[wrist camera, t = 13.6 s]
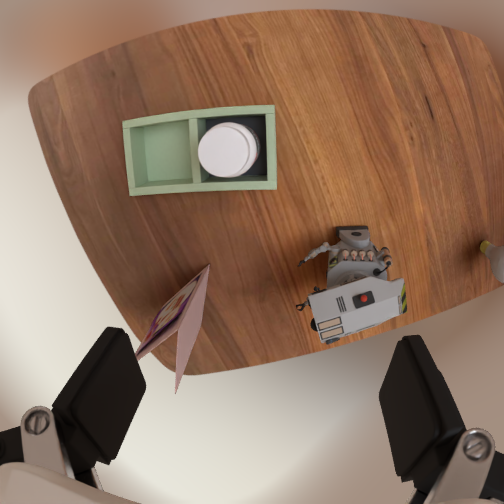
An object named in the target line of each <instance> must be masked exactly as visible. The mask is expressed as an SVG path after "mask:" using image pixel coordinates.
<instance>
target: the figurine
mask: <svg viewBox="0 0 504 504" xmlns="http://www.w3.org/2000/svg"><path fill="white" fill-rule="evenodd" d="M336 236H337V237H338V238H340V239H341V240H340V241H339V242H338V243H337V244H336V245H333V246H329V244H328V243H327V242H324V243H323V244H322V246H320V247H318V248H317V249H315V248H314V249H312V250H311V251H310V252H309V253H308V256H307V257H305V258H304V260H303V261H300V263H299V265H298V266H301V264H302V263H305V262H306V261H307V260H308V259H310V258H314V257H316V256H317V254H318V253H320V252H326V251H327V250H329V257H328V271H326V277H327V288H326V289H323V290H320V289H319V288H317V287H316V286H315V287H314V291H317V289H318V291H317V292H313V293H310V294H308V297H307V298H306V299H307V301H305V302H304V303H303V304H299V305H296V307H298V306H302V308H301V309H297V310H299V311H302V310H303V308H304V307H305V306H306V305H308V304H309V306H310V307H311V309H312V312H313V315H314V318H313V319H312V321H311V328H312V329H313V330H314V331H317V332H318V333H319V337H320V340H321V343H324V342H326V344H330V343H333V342H335V341H338V340H339V339H340V338H341V337H344V336H347V335H350V334H353V333H356V332H359V331H362V330H365V329H368V328H371V327H374V326H377V325H379V324H381V323H383V322H385V321H387V320H389V319H391V318H393V317H395V316H398V315H401V314H403V313H405V312H407V304H406V292H405V283H404V280H403V278H397V279H395V280H392V281H386V280H387V272H386V269H387V268H388V267H390V266H392V264H393V262H392V258H391V256H390V254H389V249H388V248H386V247H383V248H382V249H381V251H379V250H378V249H377V247H376V246H375V245H374V244H373V243H372V242H371V241H370V233H369V231H368V227H367V226H345V227H336ZM385 266H386V268H385Z"/></svg>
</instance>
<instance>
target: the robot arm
mask: <svg viewBox="0 0 504 504" xmlns="http://www.w3.org/2000/svg"><path fill="white" fill-rule="evenodd" d="M145 390H146V382H145V379H144V377H143V374H142V372H141V369H140V366H139V364H138V361H137V358H136V356H135V353H134V350H133V348H132V344H131V342H130V338H129V336H128V334H127V333H125V331H124V330H123V329H122V328H114V327H107V328H106V329H105V330H104V331H103V333H102V334H101V335H100V337H99V338H98V339H97V341H96V342H95V343H94V345H93V346H92V348H91V349H90V350H89V352H88V353H87V355H86V356H85V357H84V359H83V360H82V362H81V363H80V364H79V366H78V367H77V369H76V370H75V372H74V373H73V374H72V376H71V378H70V379H69V380H68V382H67V383H66V385H65V386H64V388H63V389H62V391H61V392H60V394H59V395H58V397H57V398H56V400H55V401H54V403H53V404H52V407H53V409H52V410H51V411H50V409H48V408H47V407H43V406H35V407H33V408H31V409H29V410H28V411H27V412H26V413H25V414H24V415H23V417H22V420H21V426H18V427H15V428H12V429H9V430H6V431H2V432H0V504H140V503H136V502H133V501H130V500H127V499H124V498H121V497H118V496H115V495H112V494H110V493H107V492H104V490H103V488H102V485H101V483H100V480H99V478H98V475H97V472H96V469H95V467H94V466H95V464H96V461H99V462H101V463H104V464H107V465H109V464H110V462H111V460H114V459H115V458H116V456H117V454H118V452H119V449H120V447H121V445H122V442H123V440H124V438H125V435H126V433H127V431H128V428H129V426H130V424H131V422H132V419H133V417H134V415H135V413H136V410H137V408H138V406H139V404H140V401H141V399H142V397H143V395H144V393H145ZM379 401H380V405H381V409H382V413H383V417H384V421H385V425H386V429H387V434H388V438H389V442H390V447H391V452H392V456H393V461H394V466H395V471H396V474H397V476H401V480H402V482H406V481H410V480H413V482H414V487H415V489H414V490H413V492H412V494H411V495H410V497H409V498H408V500H407V501H406V503H405V504H504V454H502V453H500V452H497V451H495V442H494V439H493V437H492V436H491V434H490V433H489V432H487V431H486V430H484V429H480V428H472V429H469V430H466V428H465V425H464V422H463V420H462V418H461V415H460V413H459V411H458V408H457V406H456V404H455V401H454V399H453V397H452V395H451V392H450V390H449V388H448V386H447V384H446V382H445V380H444V377H443V375H442V374H441V372H440V371H439V370H438V369H437V367H436V365H435V363H434V361H433V359H432V357H431V355H430V353H429V351H428V349H427V347H426V345H425V343H424V341H423V339H422V338H421V336H420V335H411V336H404V337H403V338H402V340H401V341H398V343H397V345H396V348H395V351H394V354H393V357H392V360H391V363H390V365H389V368H388V371H387V373H386V376H385V379H384V381H383V384H382V386H381V389H380V392H379Z"/></svg>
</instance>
